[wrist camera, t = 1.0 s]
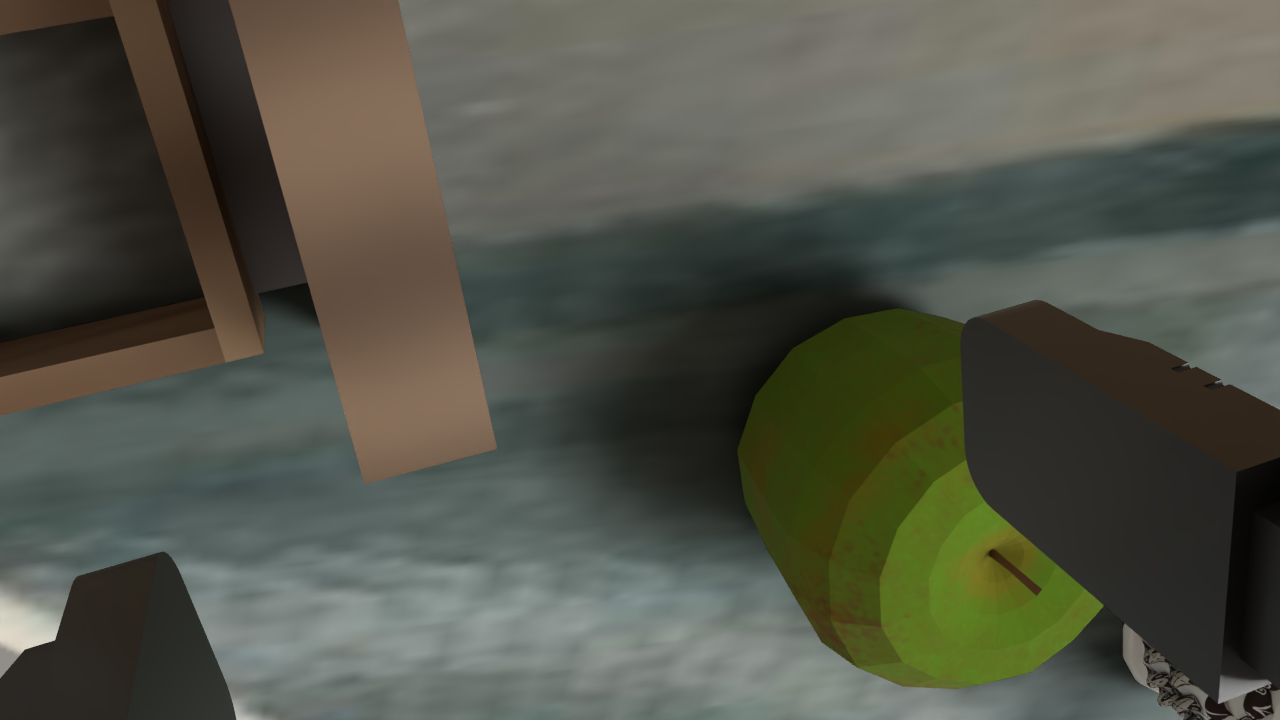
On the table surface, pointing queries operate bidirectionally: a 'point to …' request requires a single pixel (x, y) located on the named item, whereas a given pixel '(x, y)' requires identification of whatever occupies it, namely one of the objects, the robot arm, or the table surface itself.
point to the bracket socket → (285, 217)
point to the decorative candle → (1193, 687)
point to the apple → (896, 511)
